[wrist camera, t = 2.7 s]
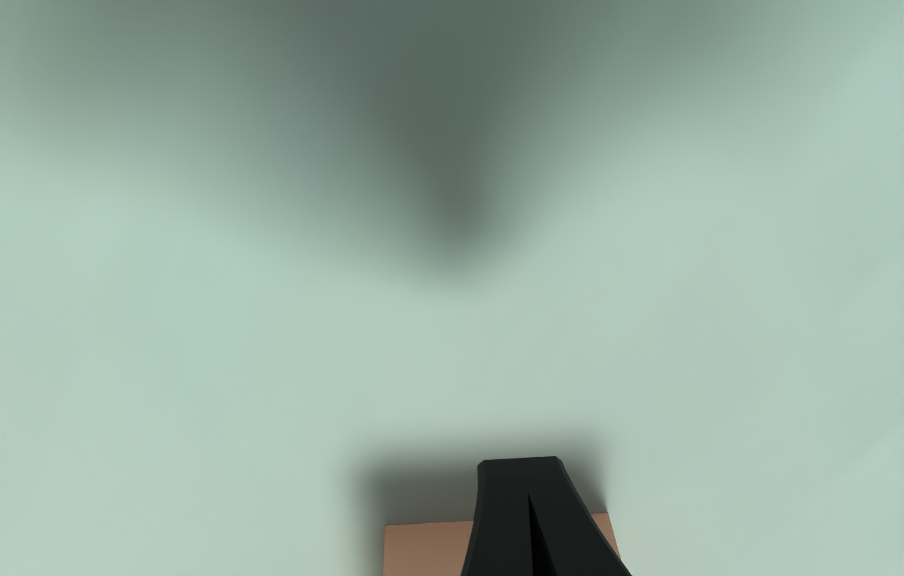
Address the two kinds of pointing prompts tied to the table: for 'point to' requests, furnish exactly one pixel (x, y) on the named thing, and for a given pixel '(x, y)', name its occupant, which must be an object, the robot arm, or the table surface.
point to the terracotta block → (443, 547)
